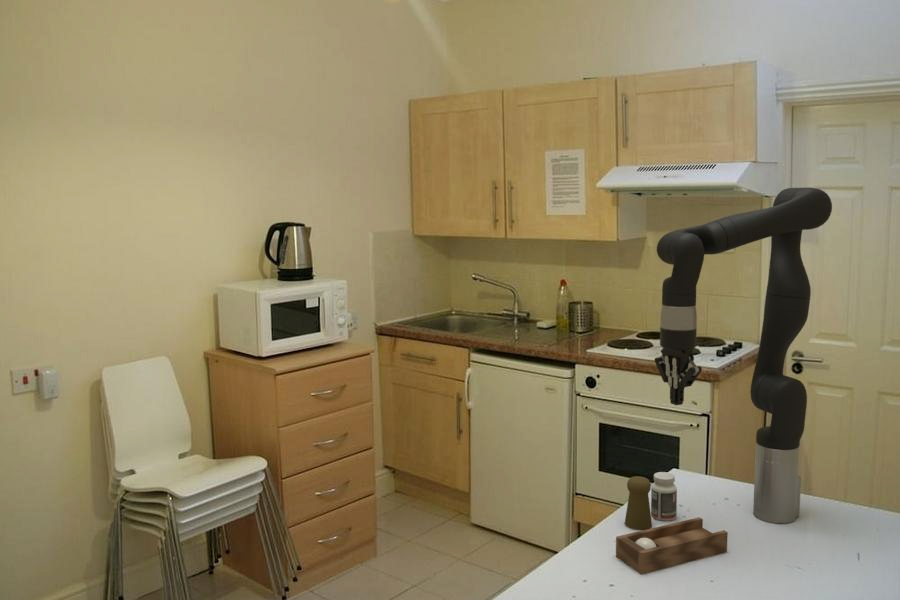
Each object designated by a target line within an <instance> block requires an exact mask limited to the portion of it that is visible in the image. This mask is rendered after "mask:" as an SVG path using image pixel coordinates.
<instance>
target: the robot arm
mask: <svg viewBox="0 0 900 600" xmlns="http://www.w3.org/2000/svg"><path fill="white" fill-rule="evenodd" d="M832 210H833V202H832V200H831V197H830V196H829V194H828V193H827V192H825V191H824V190H822V189H820V188H816V187H788V188H784V189H782V190H781V191H780V192H779V193H777V195H776V196H775V198H774V199H773V203H772V206H770V207H767V208H762V209H757V210H751V211H746V212H741V213H735V214H731V215H728V216H727V215H726V216H724V217H721V218H718V219H715V220H712V221H709V222H706V223H704V224H700V225H697V226H696V225H695V226H694V225H693V226H689V227H685V228H680V229H676V230H672V231H669V232H667V233H665V234H664V235H663V236H661V238H660V239H659V240H658V242H657V244H656V245H657V246H656V252H657V253H656V254H657V256H658V257H659V259H660V260H661V261H663V262H664V263H665V264H668V265H673V266H672V270H671V276H669V277H667V278H664V280H663V281H662V287H661V288H662V290H661V291H662V293H661V297H662V298H661V309H660V315H659V317H660V323H659V324H660V325H659V327H660V328H659V330H660V331H659V345H660V347H661V348H662V352H661V355H660V356H659V357H655V358H654V364H655V365H656V368H657V370H658V373H659V375H660V377H661V380H662V382H663V383H667V385H668V387H669V400H670V402H669V403H670V404H671V405H674V406H682V405H683V403H684V401H685V399H684V397H685V388H688V387H691V386H692V385H693V384H694V382H695V381H696V380H697V378H699V377H698V376H699V375H700V374H701V372H702V371H703V370H702V366H700V365H699V366H697V365H696V363H695V357H694V349H696V347H697V333H698V332H697V331H698V330H697V328H698V327H697V326H698V323H697V322H698V313H697V285H698V281H699V280H700V279H699V278H700V276H701V272H702V268H703V264H704V260H705V259H704V258H705V255H717V254H721V253H724V252H727V251H730V250H734V249H736V248H739V247H743V246H745V245H748V244H751V243H755V242H756V241H760V240H764V239H767V238H771V239H770V242H771V243H770V257H769V258H770V259H769V268H768V277H767V280H768V281H767V285H766V292H765V299H764V309H763V321H762V327H761V328H762V329H761V335H760V340H759V347H758V352H757V356H756V362H755V364H754V365H755V366H754V370H753V374H752V379H751V383H750V384H751V385H750V390H749V391H750V393H749V394H750V399H751V402H752V404H753V406H754V407H755V408H757V409H758V410H761V411H763V412H765V413H768V414H771V418H770V425H769V426H768V425H767V426H762V427H760V428H759V429H757V431H756V434H755V459H754V483H753V484H754V485H753V486H754V487H753V505H752V506H753V511H752V512H753V516H755V517H756V518H758V519H760V520H762V521H765V522H767V523H774V524H789V523H792V522H794V521H796V520H797V518H798V517H800V507H801V488H802V478H801V476H800V475H799V463H800V462H799V461H800V445H801V439H802V436H803V434H804V431H805V425H806V413H807V407H808V395H807V394H808V393H807V390H806V387H805V385H804V383H803V382H802V381H801V380H799V379H798V378H794V377H791V376H787V375H784V366H785V360H786V356H787V353H788V350H789V348H790V346H791V345H792V344H793V342H794V341H795V339H796V337H797V336H798V335H799V333H800V332H801V331H802V330H803V328H804V327H805V325H806V322H807V320H808V318H809V312H810V311H809V310H810V305H811V304H810V302H811V291H812V290H811V289H812V288H811V283H810V279H809V277H808V273H807V271H806V268H805V265H804V261H803V259H802V254H801V242H802V233H803V231H804V230H805V231H807V230H813V229H818V228H820V227H821V226H823V225H824V224H825V223H826V222H828V220H829V218H830V216H831V215H832V212H833V211H832Z"/></svg>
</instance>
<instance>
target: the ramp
mask: <svg viewBox="0 0 900 600" xmlns="http://www.w3.org/2000/svg"><path fill="white" fill-rule="evenodd" d="M703 521H704V519H703V518H702V517H694V518H691V519H687V520H686V519H685V520H682V521H678V522H673V523H669V524H664V525H660V526H656V527H653V528H652V527H651V528H650V529H647V530H637V531H635V532H630V533H627V534H623V535H617V536H616V537H615V558H617V559H618V560H620V561H621V562H623V563H624V564H625V565H627V566H629V567H630V568H631V569H632V570H634V571H636V572H637V573H639V574H640V575H645V574H648V573H653V572H656V571H659V570H664V569H668V568H671V567H675V566H679V565H683V564H687V563H691V562H695V561H698V560H702V559H705V558H709V557H712V556H713V557H715V556H717V555H720V554H725V553H727V552H728V534H729V532H728V531H726V530H720V531H716V532H711V531H709V530H708V529H706V528H704V527H703V523H704V522H703ZM640 538H649V539H651V540H652V541H653V542H654V543H655V544H656V547H654V548H650V549H644V548H643V547H641V546H640V545H638V544H637V543H635V542H636V541H637V540H638V539H640Z"/></svg>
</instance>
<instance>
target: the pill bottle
mask: <svg viewBox="0 0 900 600" xmlns="http://www.w3.org/2000/svg"><path fill="white" fill-rule="evenodd" d="M653 481H654V482H653V483H652V484H651V489H650V492H651V493H650V494H651V495H650V496H651V498H650V499H651V501H650V502H651V504H650V513H651V518H653V519H655V520H658V521H662V522H667V521H668V522H669V521H673V520H675V519H676V517H677V515H678V514H677V512H678V511H677V507H678V506H677V505H678V504H677V502H678V501H677V500H678V499H677V498H678V495H677V494H678V489H677V488H678V487H677V485H676V484H674V483H675V482H676V478H675V475H674V474H673V473H671V472H668V471H667V472H665V471H659V472H655V473H654V474H653Z"/></svg>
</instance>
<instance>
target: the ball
mask: <svg viewBox="0 0 900 600" xmlns="http://www.w3.org/2000/svg"><path fill="white" fill-rule="evenodd" d="M635 543H637V544H638V545H640V546H641V547H643V548H644V549H650V548H654V547H656V544H655V543H654V542H653V541H652V540H651V539H649V538H640V539H638V540H637V541H636V542H635Z"/></svg>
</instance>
